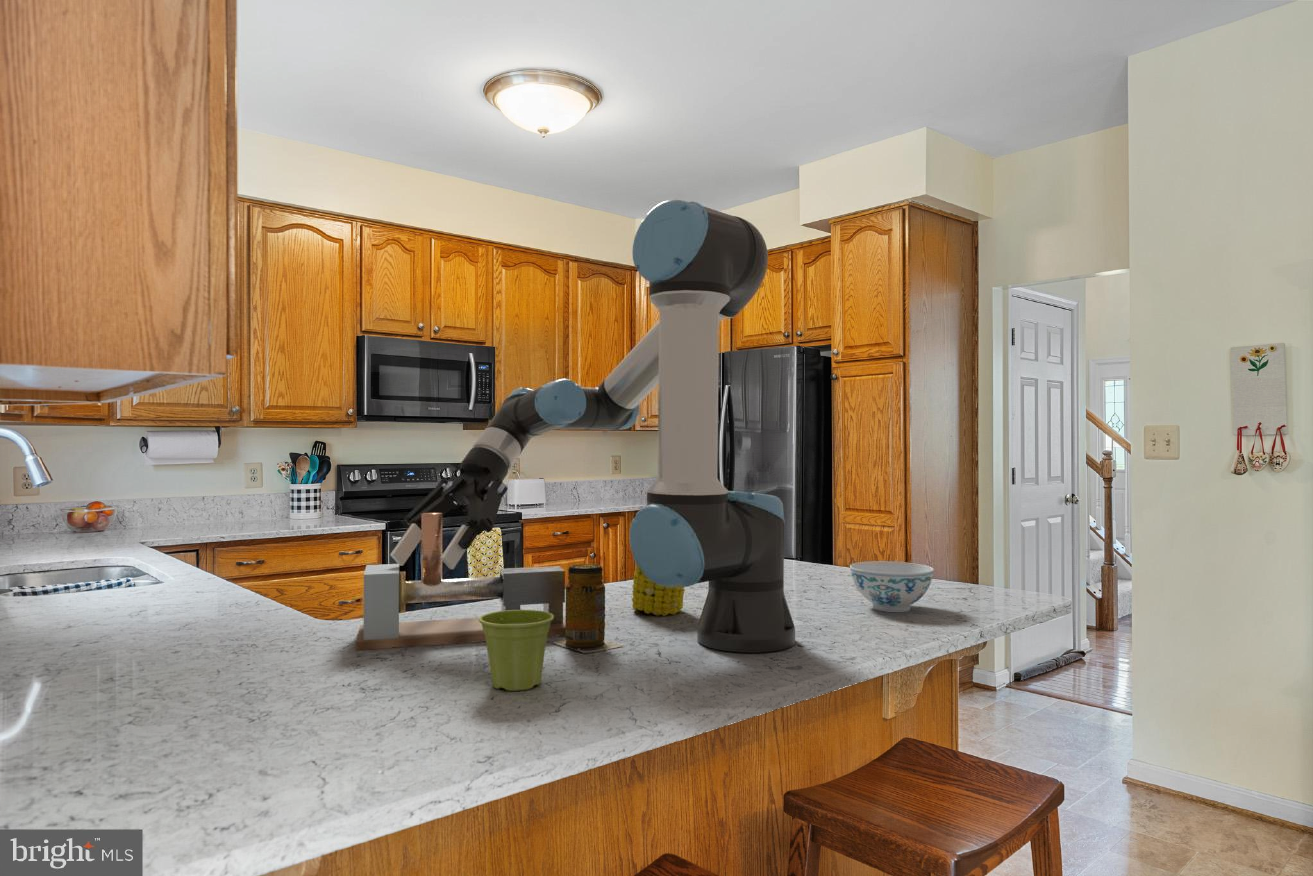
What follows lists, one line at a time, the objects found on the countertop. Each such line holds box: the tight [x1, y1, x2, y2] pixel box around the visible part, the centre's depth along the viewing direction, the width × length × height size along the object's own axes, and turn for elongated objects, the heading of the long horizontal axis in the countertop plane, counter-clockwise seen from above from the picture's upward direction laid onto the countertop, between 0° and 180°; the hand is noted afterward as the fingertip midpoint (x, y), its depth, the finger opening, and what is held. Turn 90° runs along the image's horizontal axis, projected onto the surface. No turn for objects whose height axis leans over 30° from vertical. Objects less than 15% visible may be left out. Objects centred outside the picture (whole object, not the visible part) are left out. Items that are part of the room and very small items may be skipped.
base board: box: [355, 617, 565, 651], centre depth 130 cm, size 32×12×1 cm, turn 107°
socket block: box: [363, 563, 400, 640], centre depth 126 cm, size 5×10×10 cm, turn 17°
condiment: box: [552, 563, 623, 654], centre depth 123 cm, size 7×8×12 cm
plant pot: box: [478, 609, 554, 692], centre depth 103 cm, size 9×9×9 cm
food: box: [631, 561, 685, 617], centre depth 147 cm, size 15×12×10 cm
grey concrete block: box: [499, 565, 566, 624], centre depth 133 cm, size 10×5×9 cm, turn 107°
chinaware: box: [849, 560, 935, 613], centre depth 150 cm, size 15×15×8 cm
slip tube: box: [399, 513, 503, 614], centre depth 129 cm, size 20×6×16 cm, turn 107°
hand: (420, 562), depth 125 cm, fingers open, 11 cm apart
